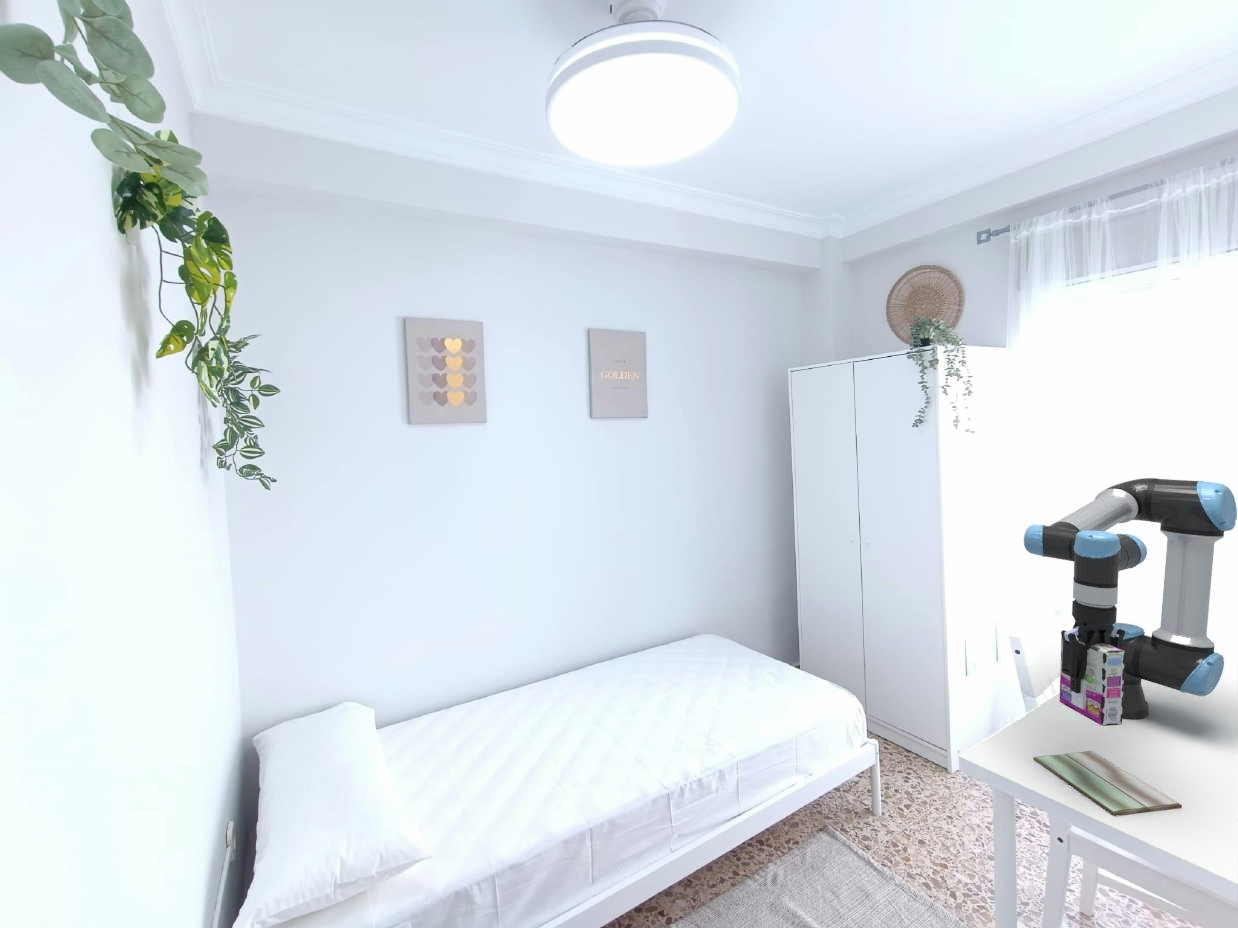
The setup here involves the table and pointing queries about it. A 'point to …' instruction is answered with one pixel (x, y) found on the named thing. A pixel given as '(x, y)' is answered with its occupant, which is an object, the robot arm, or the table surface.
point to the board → (1106, 783)
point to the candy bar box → (1099, 685)
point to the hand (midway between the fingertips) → (1089, 704)
